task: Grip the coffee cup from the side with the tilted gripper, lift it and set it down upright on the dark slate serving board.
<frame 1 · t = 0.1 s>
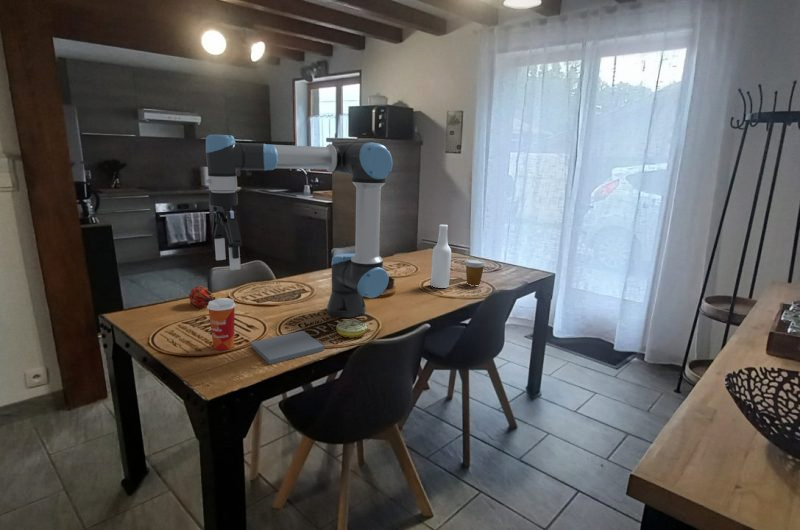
hand: (227, 264, 133), 28 cm above the table, tool pointing down, fingers open, 13 cm apart
coffee cup: (224, 347, 144), on the table
slate board: (287, 348, 144), on the table
alcohol: (439, 287, 218), on the table
disposable coffee cup: (473, 285, 224), on the table
dragon fruit: (202, 306, 179), on the table
decorated donut: (351, 334, 159), on the table
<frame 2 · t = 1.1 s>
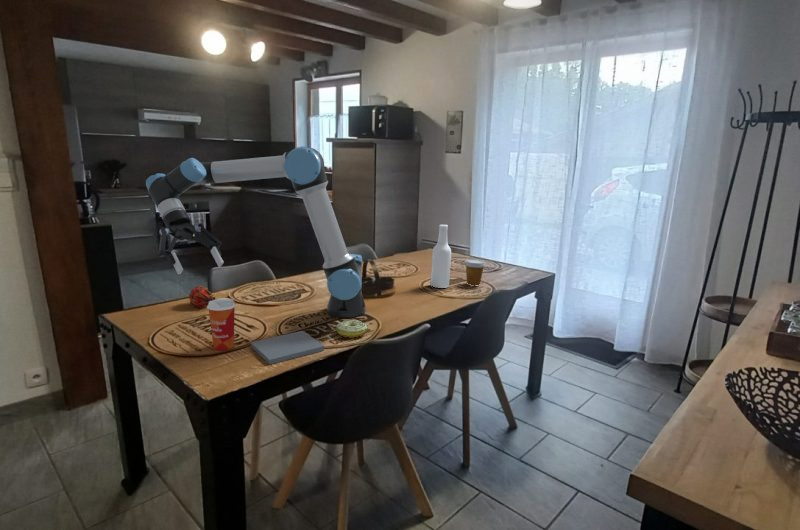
hand: (201, 268, 144), 24 cm above the table, tool tilted 45°, fingers open, 13 cm apart
nothing on the table moved.
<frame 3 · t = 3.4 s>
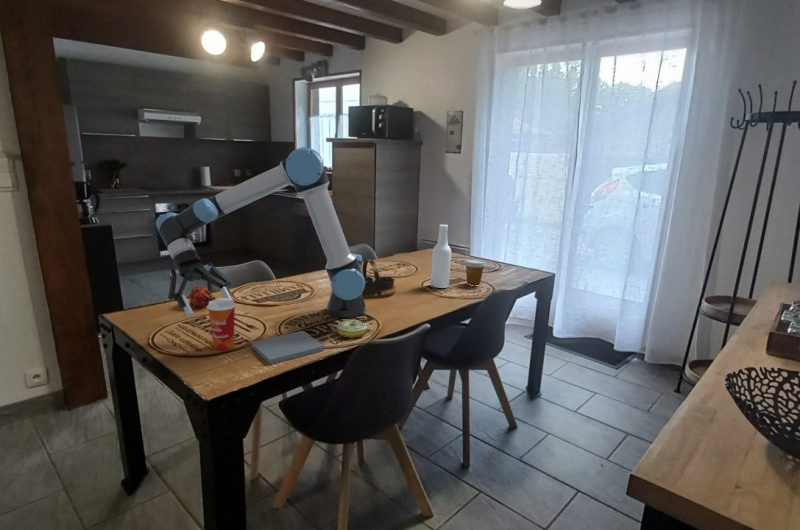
hand: (211, 310, 143), 11 cm above the table, tool tilted 45°, fingers open, 13 cm apart
nothing on the table moved.
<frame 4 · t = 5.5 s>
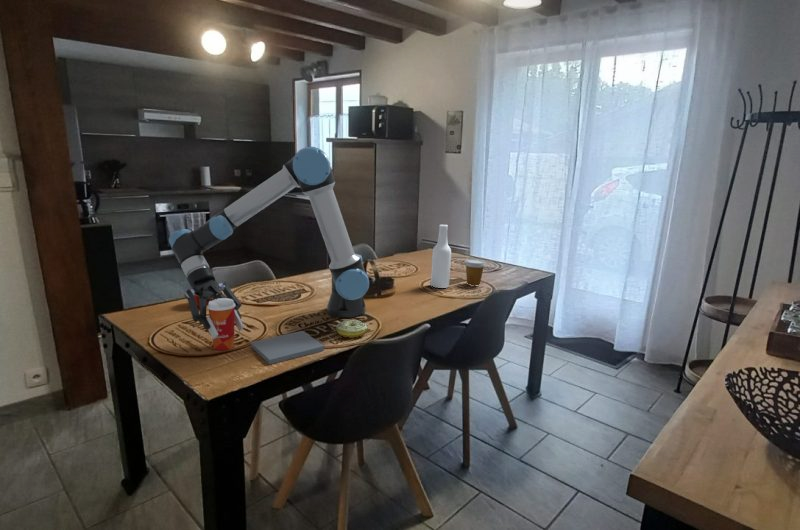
hand: (229, 332, 140), 6 cm above the table, tool tilted 45°, fingers closed on coffee cup, 8 cm apart
coffee cup: (224, 347, 144), on the table, touching gripper
everything else where it was.
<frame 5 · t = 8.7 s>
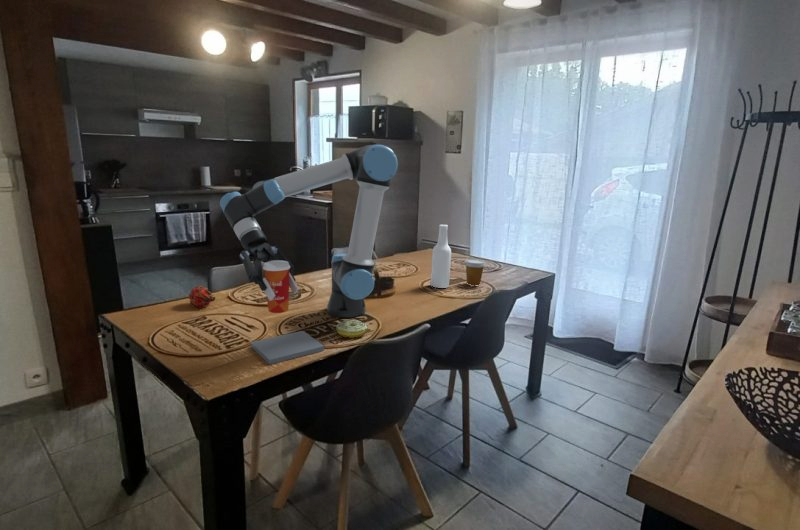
hand: (284, 294, 138), 19 cm above the table, tool tilted 45°, fingers closed on coffee cup, 8 cm apart
coffee cup: (278, 310, 141), point 13 cm above the table, touching gripper
everything else where it was.
when the fingers open (9 cm above the table, at t = 11.8 s): coffee cup drops 1 cm, resting on slate board.
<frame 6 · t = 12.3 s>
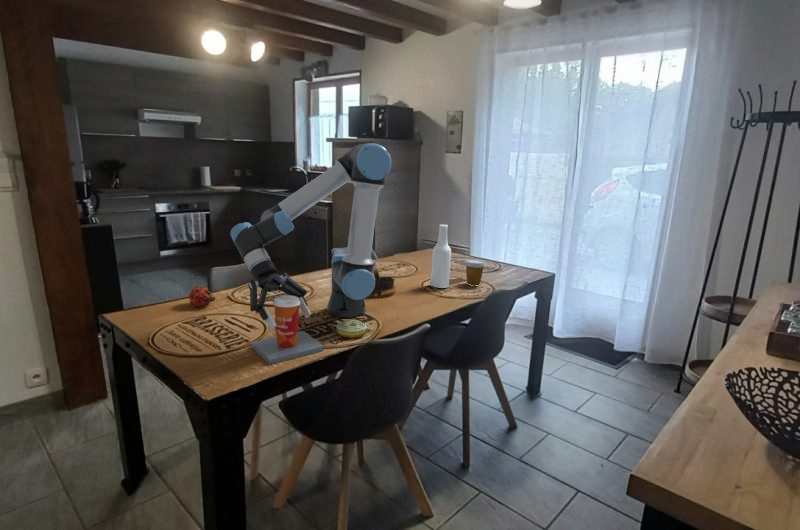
hand: (291, 321, 141), 10 cm above the table, tool tilted 45°, fingers open, 13 cm apart
coffee cup: (287, 344, 144), point 1 cm above the table, touching slate board
everything else where it was.
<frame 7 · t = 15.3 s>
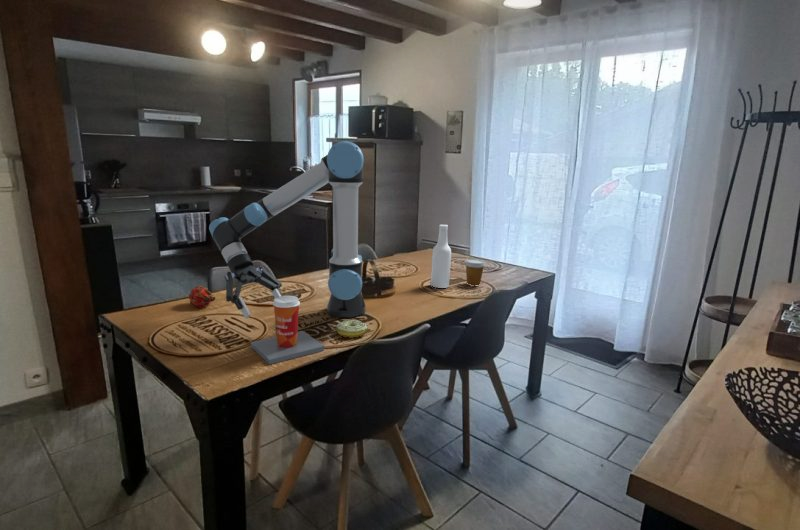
hand: (266, 311, 148), 10 cm above the table, tool tilted 45°, fingers open, 13 cm apart
nothing on the table moved.
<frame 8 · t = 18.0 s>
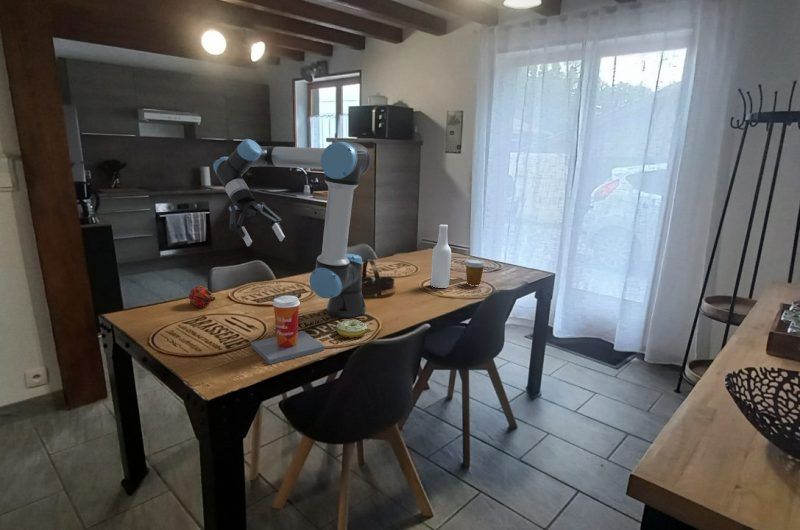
hand: (266, 241, 159), 30 cm above the table, tool tilted 45°, fingers open, 13 cm apart
nothing on the table moved.
at the end: coffee cup inside the target area on the slate board (0.1 cm from its centre), point 1.3 cm above the slate board's base; coffee cup tilted 0°; the gripper is holding nothing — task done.
